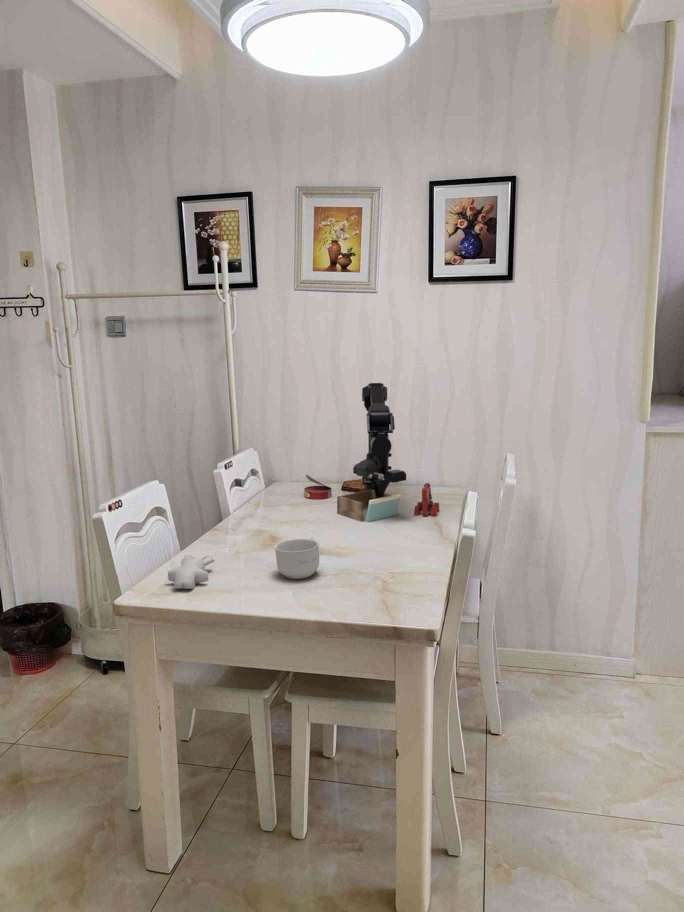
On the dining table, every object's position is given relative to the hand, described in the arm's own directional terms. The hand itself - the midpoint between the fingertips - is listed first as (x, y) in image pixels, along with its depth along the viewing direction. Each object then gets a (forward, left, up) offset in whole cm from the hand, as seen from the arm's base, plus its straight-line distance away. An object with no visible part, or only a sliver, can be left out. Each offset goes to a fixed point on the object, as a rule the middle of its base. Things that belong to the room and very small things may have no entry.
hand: (379, 499), depth 210 cm
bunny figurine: (+9, -68, -8) cm, 69 cm away
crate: (-6, 0, -7) cm, 9 cm away
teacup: (+21, -45, -7) cm, 50 cm away
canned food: (-39, +5, -8) cm, 40 cm away
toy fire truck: (+5, +16, -8) cm, 18 cm away
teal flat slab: (+1, 0, -6) cm, 6 cm away
